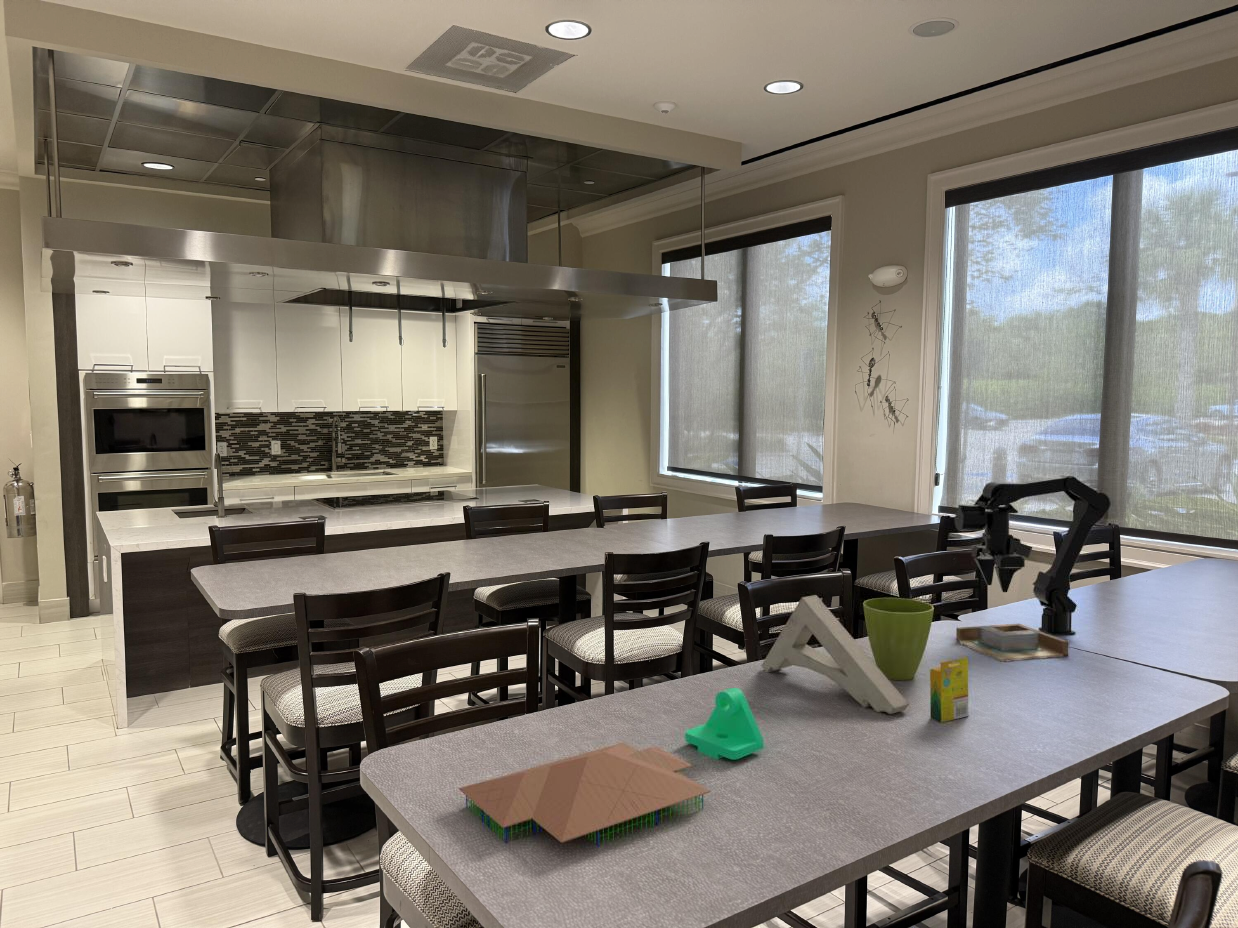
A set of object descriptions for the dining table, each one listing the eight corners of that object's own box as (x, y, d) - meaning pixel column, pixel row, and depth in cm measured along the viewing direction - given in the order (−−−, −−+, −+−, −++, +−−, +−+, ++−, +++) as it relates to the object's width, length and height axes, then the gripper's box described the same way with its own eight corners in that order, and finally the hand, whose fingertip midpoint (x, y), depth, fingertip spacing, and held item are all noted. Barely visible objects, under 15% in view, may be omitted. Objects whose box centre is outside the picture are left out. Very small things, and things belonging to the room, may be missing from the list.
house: (725, 807, 126) (724, 754, 126) (531, 876, 108) (530, 814, 107) (636, 757, 145) (636, 711, 145) (458, 809, 127) (457, 756, 126)
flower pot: (947, 677, 186) (948, 606, 185) (904, 690, 177) (905, 615, 176) (891, 661, 198) (891, 594, 197) (848, 673, 190) (849, 603, 189)
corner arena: (1018, 637, 218) (1018, 623, 218) (1068, 656, 201) (1068, 641, 200) (956, 641, 215) (956, 627, 215) (1001, 661, 197) (1001, 646, 197)
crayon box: (957, 711, 164) (957, 653, 164) (969, 716, 162) (970, 657, 161) (929, 718, 161) (929, 658, 160) (941, 723, 158) (941, 662, 158)
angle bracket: (1001, 651, 202) (1001, 635, 202) (978, 642, 211) (978, 626, 211) (1037, 649, 204) (1038, 633, 204) (1013, 639, 213) (1013, 624, 213)
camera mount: (682, 746, 149) (682, 689, 149) (711, 735, 154) (711, 680, 154) (734, 766, 140) (734, 706, 140) (763, 754, 145) (763, 696, 145)
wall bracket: (843, 776, 173) (761, 665, 193) (857, 771, 175) (775, 662, 195) (894, 708, 161) (801, 597, 181) (909, 703, 164) (816, 594, 183)
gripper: (1045, 534, 212) (1045, 595, 213) (1011, 524, 231) (1011, 581, 231) (1001, 535, 212) (1001, 596, 213) (970, 525, 231) (970, 581, 232)
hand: (996, 588), depth 222 cm, fingers open, 9 cm apart
